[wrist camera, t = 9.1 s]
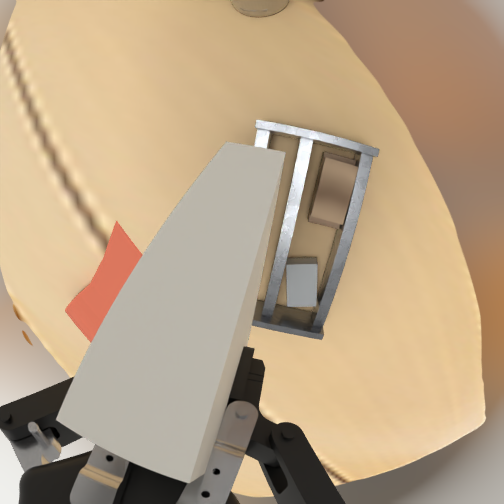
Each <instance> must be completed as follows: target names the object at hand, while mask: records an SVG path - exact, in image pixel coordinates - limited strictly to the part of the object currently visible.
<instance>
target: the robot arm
mask: <svg viewBox="0 0 504 504" xmlns="http://www.w3.org/2000/svg"><path fill="white" fill-rule="evenodd" d="M288 2H289V0H231V3H232V5H233V6H234V8H235V9H236V10H237V11H239V12H240V13H242V14H244V15H248V16H253V17H264V16H270V15H273V14H276V13H278V12H280V11H281V10H283V9H284V8H285V7H286V6H287V4H288ZM253 353H254V348H250V347H246V346H244V347H243V350H242V354H241V357H240V361H239V364H238V368H237V371H236V375H235V378H234V382H233V385H232V388H231V392H230V395H229V399H228V404H227V408H226V411H225V413H224V415H223V418H222V422H221V425H220V428H219V431H218V435H217V438H216V441H215V443H214V446H213V449H212V452H211V455H210V458H209V461H208V465H207V468H206V471H205V474H203V475H202V476H200V477H198V478H197V479H195V480H194V481H192V482H191V483H186V482H183V481H180V480H177V479H174V478H171V477H168V476H165V475H162V474H160V473H157V472H154V471H152V470H149V469H147V468H144V467H142V466H140V465H137V464H135V463H133V462H130V461H128V460H126V459H124V458H122V457H120V456H118V455H115V454H113V453H111V452H109V451H108V450H106V449H104V448H102V447H100V446H98V445H96V444H95V446H94V448H93V450H92V451H89V452H86V453H83V454H80V455H77V456H73V457H70V458H67V459H63V460H59V461H55V462H52V461H53V460H54V459H58V458H59V456H60V453H61V447H63V446H66V445H68V444H70V443H72V442H74V441H76V440H78V439H80V438H82V436H80V435H79V434H77V433H76V432H74V431H72V430H71V429H69V428H68V427H66V426H64V425H63V424H61V423H60V422H58V421H57V420H56V418H57V416H58V413H59V411H60V408H61V406H62V404H63V401H64V399H65V397H66V394H67V392H68V390H69V388H70V385H71V383H72V381H73V379H74V377H75V376H74V377H72V378H70V379H68V380H65V381H63V382H61V383H58V384H56V385H53V386H51V387H49V388H46V389H44V390H41V391H39V392H36V393H34V394H31V395H29V396H26V397H24V398H21V399H19V400H16V401H14V402H11V403H8V404H6V405H3V406H1V407H0V429H1V430H2V432H3V433H4V435H5V436H6V437H7V438H8V440H9V441H10V442H11V445H12V447H13V449H14V451H15V454H16V456H17V458H18V460H19V462H20V464H21V466H22V468H23V470H24V472H25V473H24V474H23V475H22V477H21V480H20V497H19V504H240V503H239V501H238V500H237V498H236V497H235V495H234V494H233V493H232V492H231V489H232V486H233V484H234V481H235V479H236V476H237V473H238V471H239V468H240V466H241V463H242V460H243V458H244V455H245V454H246V455H248V456H250V457H252V458H254V459H256V460H258V461H259V464H260V466H261V468H262V471H263V473H264V475H265V477H266V480H267V482H268V484H269V486H270V488H271V490H272V493H273V495H274V497H275V499H276V501H277V503H278V504H345V502H344V500H343V499H342V497H341V496H340V494H339V492H338V491H337V489H336V487H335V486H334V484H333V483H332V481H331V479H330V478H329V476H328V474H327V473H326V471H325V469H324V468H323V466H322V464H321V462H320V461H319V459H318V457H317V456H316V454H315V452H314V451H313V449H312V447H311V445H310V444H309V442H308V440H307V438H306V437H305V435H304V433H303V431H302V430H301V428H300V427H298V426H297V425H295V424H293V423H289V422H283V423H279V424H275V423H273V422H271V421H269V420H267V419H266V418H264V417H263V416H262V414H261V413H260V411H259V401H260V396H261V390H262V384H263V378H264V372H265V366H264V363H263V361H262V360H259V359H254V358H253Z"/></svg>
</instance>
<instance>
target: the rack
mask: <svg viewBox="0 0 504 504" xmlns="http://www.w3.org/2000/svg"><path fill="white" fill-rule="evenodd" d="M255 128H256V129H257V135H256V140H255V145H254V146H256V147H261V148H267V149H269V148H270V143H271V138H272V134H274V135H279V136H285V137H289V138H294V139H299V140H300V143H299V148H298V153H297V158H296V163H295V168H294V172H293V177H292V182H291V187H290V191H289V196H288V201H287V205H286V210H285V215H284V219H283V224H282V228H281V233H280V237H279V242H278V246H277V251H276V255H275V259H274V264H273V268H272V272H271V277H270V281H269V285H268V289H267V294H266V298H265V302H264V301H259V300H257V302H256V307H255V311H254V316H253V321H252V326H257V327H261V328H266V329H270V330H275V331H279V332H284V333H289V334H294V335H299V336H304V337H309V338H314V339H320V340H322V338H323V336H324V331H323V325H324V322H325V320H326V317H327V314H328V312H329V309H330V306H331V303H332V301H333V298H334V295H335V292H336V289H337V286H338V283H339V280H340V277H341V274H342V271H343V268H344V265H345V262H346V259H347V255H348V252H349V249H350V245H351V242H352V239H353V235H354V232H355V228H356V225H357V221H358V217H359V214H360V210H361V206H362V202H363V198H364V194H365V190H366V186H367V182H368V177H369V173H370V168H371V164H372V159H373V157H378V153H379V149H377V148H374V147H371V146H367V145H364V144H361V143H358V142H354V141H351V140H347V139H344V138H340V137H336V136H332V135H328V134H324V133H320V132H316V131H312V130H308V129H303V128H299V127H294V126H289V125H284V124H279V123H273V122H268V121H262V120H256V125H255ZM313 143H316V144H320V145H325V146H328V147H332V148H336V149H340V150H344V151H347V152H351V153H354V154H355V156H354V160H356V164H355V166H357V167H358V171H357V175H356V179H355V183H354V187H353V191H352V194H351V198H350V202H349V205H348V209H347V212H346V216H345V219H344V223H343V225H341V224H340V227H339V229H337V231H336V235H335V239H334V242H333V246H332V249H331V253H330V256H329V259H328V263H327V266H326V269H325V273H324V276H323V279H322V282H321V286H320V289H319V292H318V295H317V300H316V306H314V307H313V310H312V312H310V311H305V310H300V309H295V308H291V307H286V306H281V305H277V304H276V300H277V296H278V292H279V288H280V284H281V280H282V276H283V272H284V268H285V264H286V260H287V256H288V252H289V248H290V244H291V240H292V236H293V231H294V227H295V223H296V218H297V214H298V210H299V205H300V201H301V196H302V192H303V187H304V183H305V178H306V173H307V168H308V164H309V159H310V154H311V149H312V144H313Z"/></svg>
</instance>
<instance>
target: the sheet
mask: <svg viewBox="0 0 504 504" xmlns="http://www.w3.org/2000/svg"><path fill="white" fill-rule="evenodd" d="M141 257H142V254H141V252H140V251H139V250H138V249H137V247H136V246H135V245H134V243H133V242H132V241H131V239H130V238H129V237H128V235H127V234H126V233H125V231H124V230H123V229H122V227H121V226H120V225H119V223H118V222H117V221H116V224H115V226H114V229H113V232H112V234H111V237H110V240H109V243H108V246H107V249H106V252H105V255H104V258H103V260H102V261H101V263H100V265H99V267H98V269H97V271H96V273H95V275H94V277H93V279H92V281H91V283H90V284H89V285H88V286H87V287H86V288H84V289H83V290H82V291H81V292H80V293H79V294H78V295H77V296H76V297H75V298H74V299H73V300H72V301H71V303H70V304H69V305H68V306H67V307H66V309H65V312H66V313H67V314H68V316H69V317H70V318H71V319H72V321H73V322H74V323H75V324H76V326H77V327H78V328H79V329H80V330H81V332H82V333H83V334H84V335H85V336H86V337H87V339H88V340H89V341H90V342H92V340H93V339H94V337H95V335H96V333H97V331H98V329H99V327H100V325H101V324H102V322H103V320H104V318H105V316H106V315H107V313H108V311H109V309H110V308H111V306H112V304H113V302H114V301H115V299H116V297H117V296H118V294H119V292H120V290H121V289H122V287H123V285H124V284H125V282H126V281H127V279H128V277H129V276H130V274H131V272H132V271H133V269H134V268H135V266H136V265H137V263H138V261H139V260H140V258H141Z"/></svg>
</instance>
